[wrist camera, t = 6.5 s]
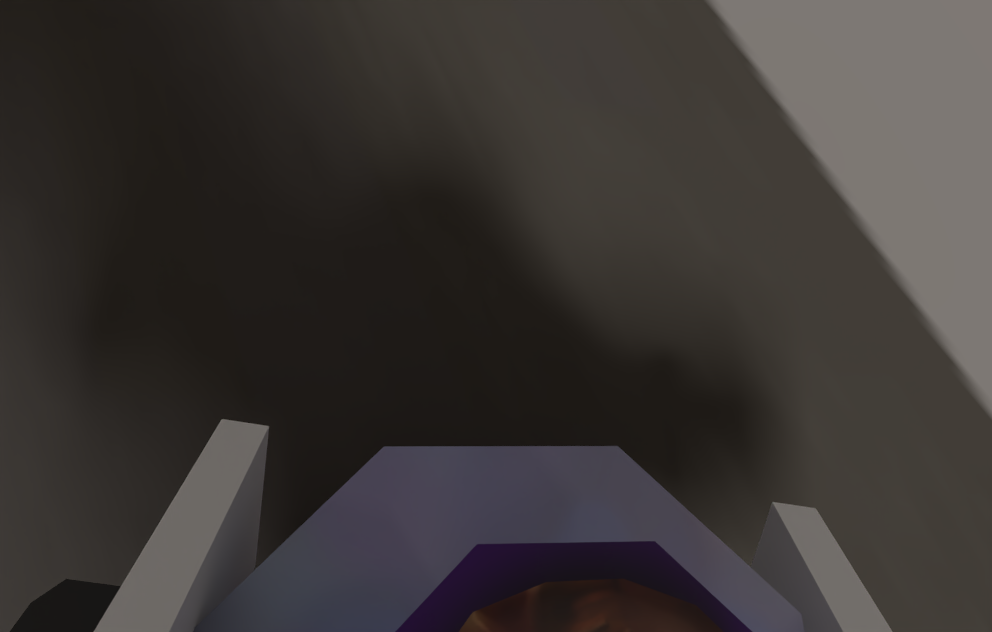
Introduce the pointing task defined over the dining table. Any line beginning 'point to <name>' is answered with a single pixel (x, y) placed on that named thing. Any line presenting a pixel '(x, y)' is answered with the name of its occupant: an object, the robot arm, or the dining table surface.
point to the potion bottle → (503, 553)
